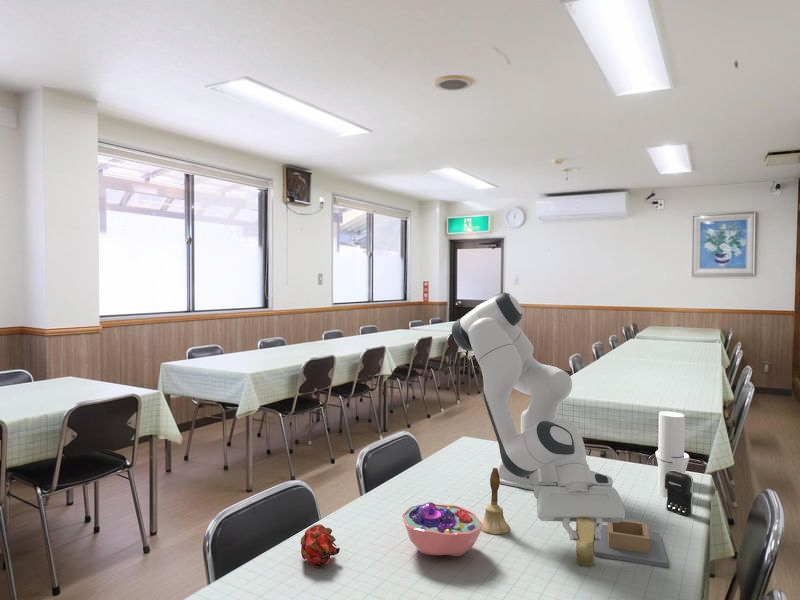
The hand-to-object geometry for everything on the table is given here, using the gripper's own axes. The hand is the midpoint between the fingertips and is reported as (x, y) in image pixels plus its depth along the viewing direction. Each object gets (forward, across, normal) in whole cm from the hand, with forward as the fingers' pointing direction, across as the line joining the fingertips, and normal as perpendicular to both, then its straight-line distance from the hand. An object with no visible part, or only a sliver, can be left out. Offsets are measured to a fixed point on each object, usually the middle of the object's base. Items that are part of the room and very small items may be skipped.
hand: (585, 539), depth 123 cm
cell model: (+1, -33, +7) cm, 34 cm away
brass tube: (+4, 0, +4) cm, 6 cm away
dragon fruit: (+5, -62, +3) cm, 63 cm away
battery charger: (-17, +35, +25) cm, 46 cm away
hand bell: (-8, -19, +17) cm, 27 cm away
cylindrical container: (-26, +39, +35) cm, 58 cm away
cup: (-34, +45, +42) cm, 70 cm away
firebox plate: (-2, +13, +10) cm, 17 cm away
